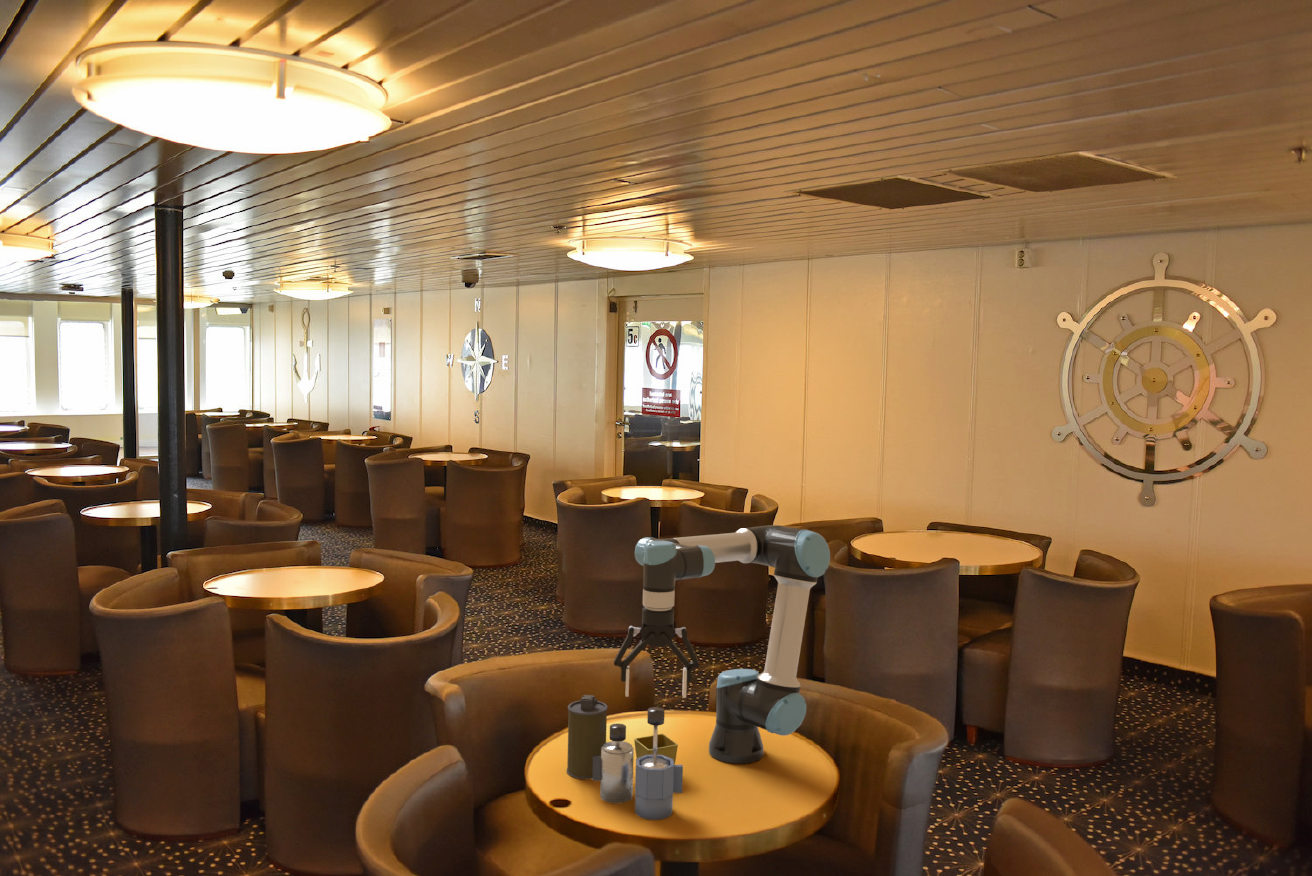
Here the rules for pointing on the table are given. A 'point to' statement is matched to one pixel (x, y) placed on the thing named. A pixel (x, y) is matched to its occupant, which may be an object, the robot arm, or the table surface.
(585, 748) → the canister
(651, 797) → the blue mug
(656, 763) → the plunger
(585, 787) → the table surface
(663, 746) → the flower pot
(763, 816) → the table surface
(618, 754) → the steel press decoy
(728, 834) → the table surface
